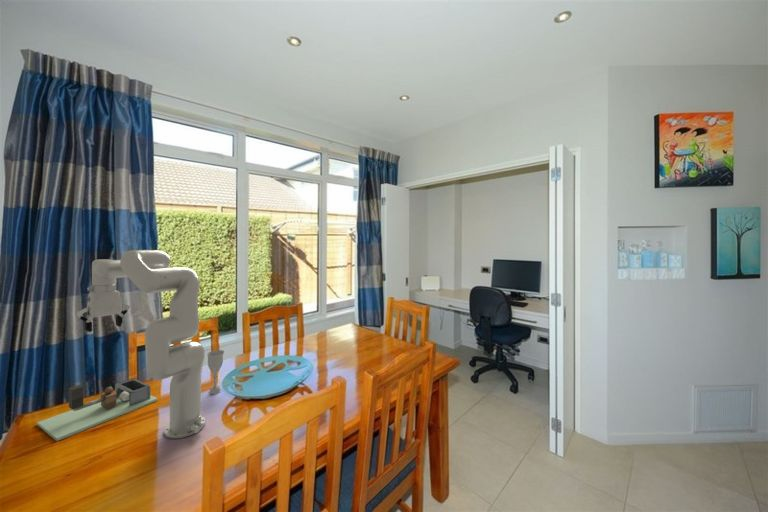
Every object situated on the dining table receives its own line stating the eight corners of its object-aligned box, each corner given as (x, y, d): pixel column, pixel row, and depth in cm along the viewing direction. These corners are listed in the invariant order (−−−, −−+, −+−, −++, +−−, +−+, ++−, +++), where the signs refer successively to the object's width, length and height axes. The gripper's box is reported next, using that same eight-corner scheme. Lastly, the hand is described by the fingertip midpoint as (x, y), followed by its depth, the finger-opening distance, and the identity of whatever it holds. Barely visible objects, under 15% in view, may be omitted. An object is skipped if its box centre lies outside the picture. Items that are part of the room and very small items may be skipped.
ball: (128, 390, 123) (119, 399, 120) (136, 395, 125) (126, 404, 122) (124, 387, 125) (114, 396, 122) (131, 392, 127) (122, 401, 124)
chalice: (215, 396, 131) (215, 356, 131) (202, 394, 133) (202, 354, 132) (227, 388, 139) (227, 350, 138) (214, 386, 140) (215, 349, 139)
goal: (150, 400, 126) (150, 384, 126) (130, 408, 120) (130, 391, 120) (134, 392, 132) (134, 377, 132) (114, 399, 126) (115, 383, 125)
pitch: (157, 400, 126) (157, 398, 126) (56, 441, 99) (56, 438, 99) (135, 389, 134) (135, 387, 134) (37, 424, 108) (37, 422, 107)
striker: (116, 405, 119) (116, 377, 118) (73, 421, 108) (73, 391, 107) (110, 402, 121) (110, 374, 121) (67, 417, 110) (67, 387, 109)
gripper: (80, 292, 115) (80, 335, 116) (133, 287, 131) (133, 325, 132) (72, 290, 119) (72, 332, 119) (125, 285, 134) (125, 322, 135)
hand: (104, 328), depth 126 cm, fingers open, 9 cm apart
